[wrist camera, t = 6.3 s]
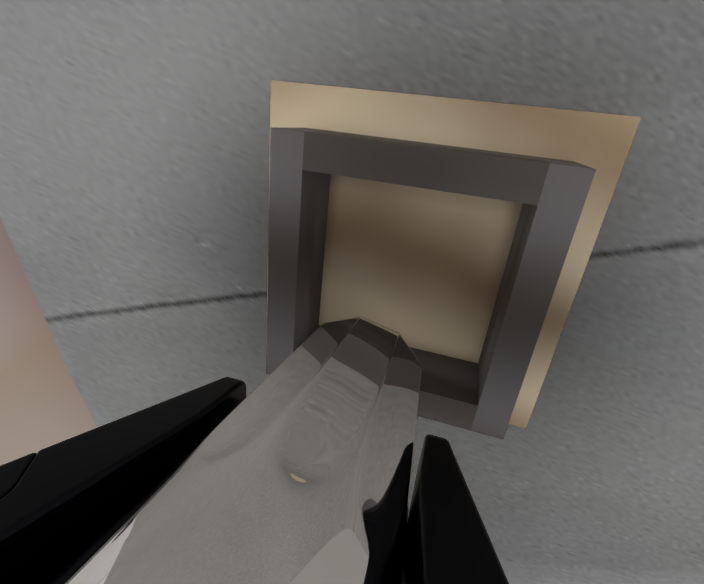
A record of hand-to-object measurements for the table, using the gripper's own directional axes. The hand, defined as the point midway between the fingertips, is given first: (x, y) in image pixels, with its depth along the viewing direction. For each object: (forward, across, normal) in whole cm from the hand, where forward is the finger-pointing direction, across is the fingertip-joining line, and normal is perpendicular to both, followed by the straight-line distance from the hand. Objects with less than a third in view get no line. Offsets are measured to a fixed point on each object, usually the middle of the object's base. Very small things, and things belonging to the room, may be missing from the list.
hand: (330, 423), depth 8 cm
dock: (+11, 0, 0) cm, 11 cm away
